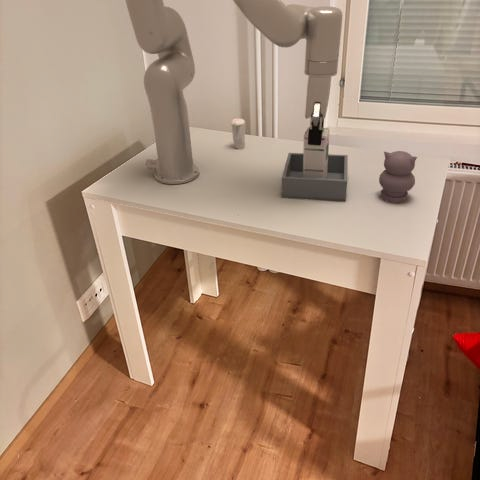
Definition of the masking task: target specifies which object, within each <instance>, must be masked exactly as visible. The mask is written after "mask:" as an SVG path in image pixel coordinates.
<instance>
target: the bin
mask: <svg viewBox="0 0 480 480" xmlns="http://www.w3.org/2000/svg"><path fill="white" fill-rule="evenodd" d="M348 157H349V155H348V154H330V153H328V170H327V179H321V178H303V152H300V153H299V152H288V154H287V158H286V161H285V166H284V169H283V172H282V176H281V198H282V199H295V200H314V201H330V202H331V201H332V202H346V199H347V198H346V197H347V191H348V190H347V188H348V169H349V167H348V165H349V164H348V163H349V162H348Z"/></svg>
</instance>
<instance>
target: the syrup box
mask: <svg viewBox="0 0 480 480" xmlns="http://www.w3.org/2000/svg"><path fill="white" fill-rule="evenodd" d="M309 128H310V126H309V127H308V126H307V129H306V131H305V132H304V134H303V149H302V151H303V152H302V153H303V178H321V179H327V170H328V154H329V147H330V146H329V145H330V128H328V127H323V128H321V129H322V140H321V145H308V132H309Z"/></svg>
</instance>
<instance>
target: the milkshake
mask: <svg viewBox="0 0 480 480" xmlns="http://www.w3.org/2000/svg"><path fill="white" fill-rule="evenodd" d="M246 121H247V117H246V118H245V119H244V118H236V117H235V118H234V119H232V120H231V121H230V124H231V133H232V134H231V135H232V140H233V148H234V149H237V150H242V149H244V148H245V141H246Z"/></svg>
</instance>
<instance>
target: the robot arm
mask: <svg viewBox="0 0 480 480" xmlns="http://www.w3.org/2000/svg"><path fill="white" fill-rule="evenodd" d="M232 1H233V2H234V4H235V5H236V6H237V7H238V9H239V10H240V12H241V13H242V14H243V16H244V17H245V18H246V19H247V20H248V21H249V22H250V24H252V25H253V27H255V29H257V30H258V31H259V32H260V33H261V34H262V35H263V36H264V37H265V38H266V39H268V40H269V41H270V42H271V43H272V44H273V45H275V46H277V47H280V48H291V47H293V46H295V45H296V44H297V43H298V42H299V41H301V40H302V39H305V40H306V41H305V56H304V57H305V58H304V71H303V72H304V74H305V76H306V75H307V77H308V78H307V87H306V97H305V100H306V101H305V109H304V110H305V111H304V112H305V113H304V118H305V119H309V118H310V120H309V127H310V128H309V132H308V145H321V140H322V129H321V128H324V122H325V118H326V114H327V111H328V108H329V107H328V106H329V101H330V94H331V84H332V83H331V82H332V77H335V76H336V75H337V74H338V68H339V67H338V66H339V55H340V45H341V35H342V28H343V27H342V25H343V11H342V10H341V8H338V7H333V6H317V7H313V6H306V5H301V4H292V3H291V4H285V3H284V2H283V1H282V0H232ZM125 4H126V8H127V11H128V15H129V18H130V21H131V24H132V25H131V26H132V29H133V32H134V36H135V39H136V41H137V43H138V44H137V45H138V46H139V47H140V49H141V50H142V51H143V52H145V53H146V54H149V55H156V54H157V56H158V58H157V59H156V60H154V61H152V63H150V64H149V66H148V67H147V68H146V70H145V71H144V76H143V85H144V90H145V94H146V96H147V99H148V103H149V107H150V113H151V114H150V115H151V120H152V126H153V132H154V138H155V146H156V154H157V158H156V159H153V158H146V159H145V165H146V168H147V170H149V169H150V170H153V169H154V170H155V171H154V177H155V179H156V180H157V181H158V182H159V183H162V184H165V185H167V184H168V185H180V184H185V183H186V184H187V183H189V182H192V181H194V180H195V179H196V178H198V177H199V175H200V168H199V166H198V165H196V164H195V163H194V161H193V159H194V158H193V150H192V149H193V148H192V141H191V132H190V130H191V129H190V122H189V121H190V120H189V112H188V106H187V103H186V100H185V97H184V89H185V88H187V87H188V86H189V85H190V84H191V83H192V82H193V79H194V78H195V73H196V67H195V60H194V56H193V52H192V51H193V50H192V48H191V45H190V43H191V42H190V40H189V36H188V35H189V34H188V31H187V28H186V24H185V21H184V20H183V18H182V16H181V15H180V14H179V12H178V11H176V10H175V9H174V8H173V7H170V6H165V3H164V0H125Z"/></svg>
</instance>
